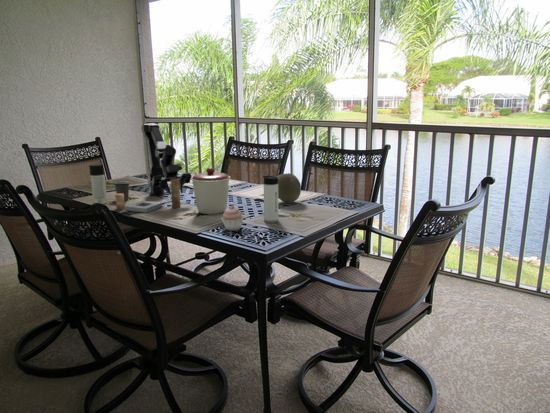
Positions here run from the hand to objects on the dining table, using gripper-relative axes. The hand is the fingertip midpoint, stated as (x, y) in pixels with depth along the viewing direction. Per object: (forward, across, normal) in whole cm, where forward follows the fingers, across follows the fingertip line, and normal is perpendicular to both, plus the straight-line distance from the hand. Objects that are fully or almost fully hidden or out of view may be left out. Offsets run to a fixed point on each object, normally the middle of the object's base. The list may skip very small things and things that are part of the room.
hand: (176, 193), depth 210 cm
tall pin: (+4, 0, +6) cm, 7 cm away
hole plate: (0, -14, +10) cm, 17 cm away
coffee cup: (-17, -19, +28) cm, 38 cm away
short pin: (-4, -24, +14) cm, 28 cm away
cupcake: (+37, +9, -27) cm, 47 cm away
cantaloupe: (+18, +52, -8) cm, 55 cm away
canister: (+16, +12, -6) cm, 21 cm away
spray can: (-16, -31, +26) cm, 43 cm away
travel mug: (+36, +28, -26) cm, 53 cm away
